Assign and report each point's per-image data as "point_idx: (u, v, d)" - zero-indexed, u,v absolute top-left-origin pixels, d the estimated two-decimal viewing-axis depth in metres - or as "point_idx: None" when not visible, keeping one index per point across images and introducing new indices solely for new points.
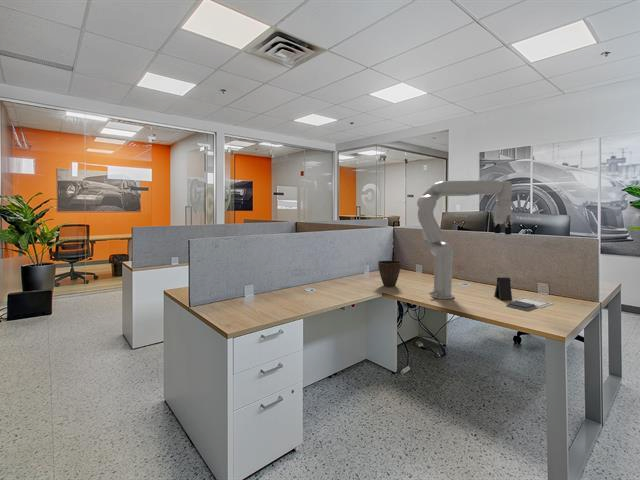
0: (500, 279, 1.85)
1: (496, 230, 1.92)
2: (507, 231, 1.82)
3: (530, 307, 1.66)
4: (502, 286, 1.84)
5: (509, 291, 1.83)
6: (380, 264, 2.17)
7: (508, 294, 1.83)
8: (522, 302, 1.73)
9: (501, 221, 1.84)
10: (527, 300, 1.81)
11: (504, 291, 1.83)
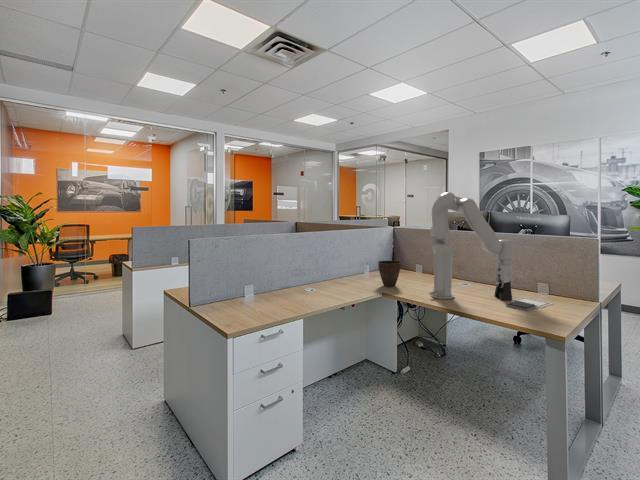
0: None
1: None
2: None
3: (530, 307, 1.66)
4: None
5: (509, 291, 1.83)
6: (380, 264, 2.17)
7: (508, 294, 1.83)
8: (522, 302, 1.73)
9: (511, 279, 1.85)
10: (527, 300, 1.81)
11: (504, 291, 1.83)
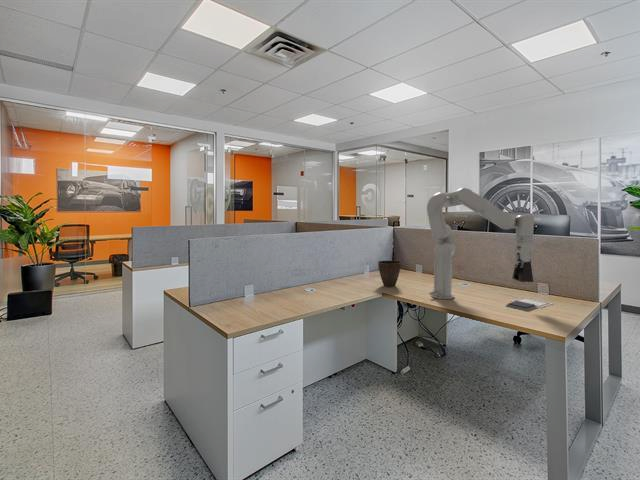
0: None
1: None
2: None
3: (530, 307, 1.66)
4: None
5: (530, 271, 1.66)
6: (380, 264, 2.17)
7: (529, 274, 1.65)
8: (522, 302, 1.73)
9: (532, 258, 1.67)
10: (527, 300, 1.81)
11: (524, 271, 1.66)
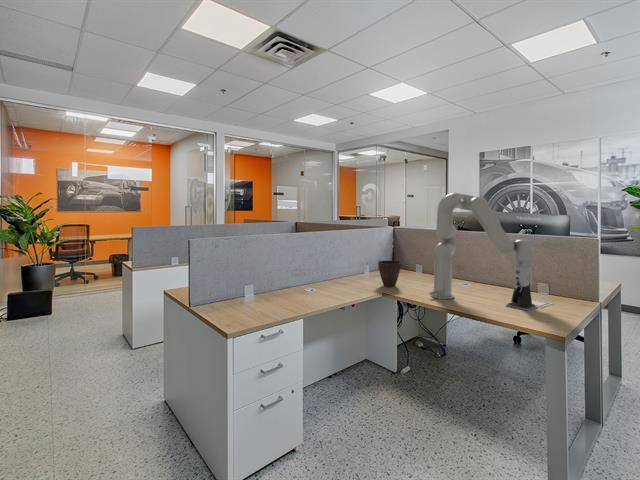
0: None
1: None
2: None
3: (530, 307, 1.66)
4: None
5: (529, 296, 1.67)
6: (380, 264, 2.17)
7: (528, 299, 1.66)
8: None
9: (531, 283, 1.69)
10: None
11: (523, 296, 1.67)
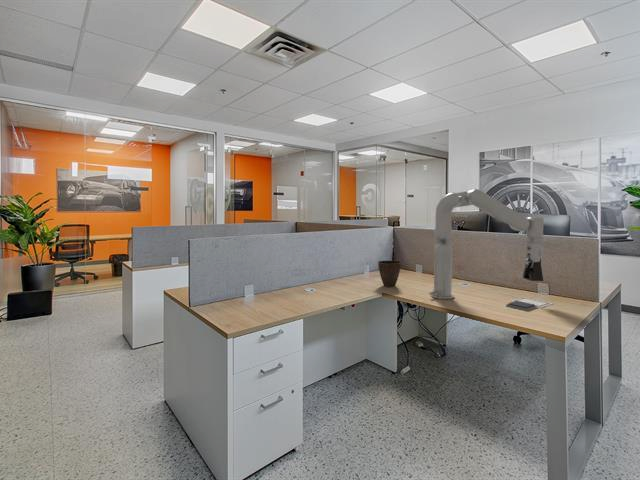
0: None
1: None
2: None
3: (530, 307, 1.66)
4: None
5: (540, 271, 1.73)
6: (380, 264, 2.17)
7: (539, 274, 1.73)
8: (522, 302, 1.73)
9: (541, 259, 1.75)
10: (527, 300, 1.81)
11: (534, 271, 1.73)
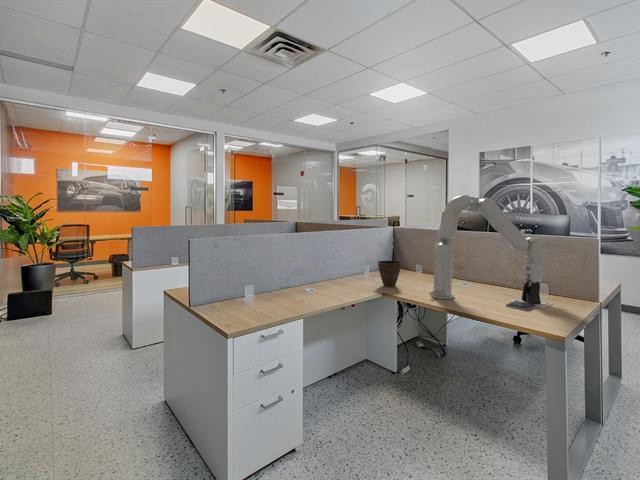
0: None
1: None
2: None
3: (530, 307, 1.66)
4: None
5: (537, 294, 1.74)
6: (380, 264, 2.17)
7: (536, 297, 1.74)
8: (522, 302, 1.73)
9: (540, 279, 1.76)
10: None
11: (532, 294, 1.75)
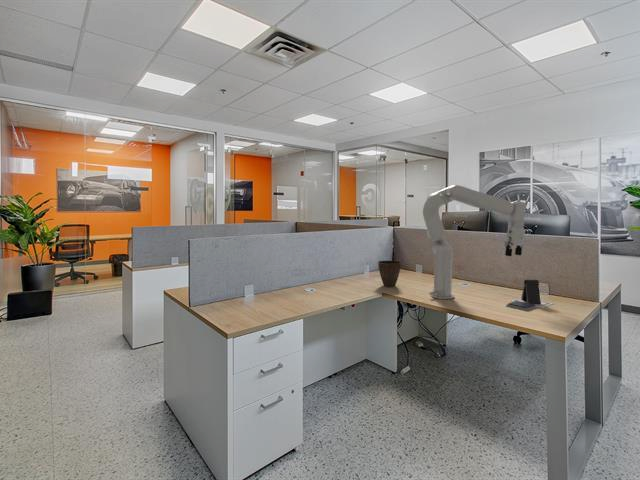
0: (527, 281, 1.76)
1: None
2: None
3: (530, 307, 1.66)
4: (530, 289, 1.75)
5: (537, 294, 1.74)
6: (380, 264, 2.17)
7: (536, 297, 1.74)
8: (522, 302, 1.73)
9: (522, 242, 1.81)
10: None
11: (532, 294, 1.75)
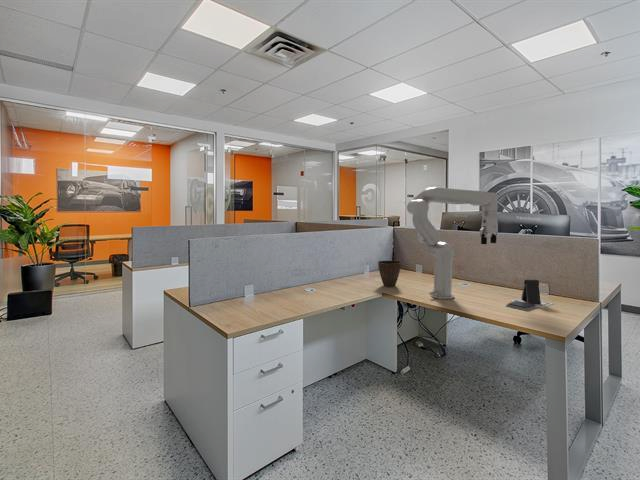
0: (528, 281, 1.76)
1: None
2: None
3: (530, 307, 1.66)
4: (530, 289, 1.75)
5: (537, 294, 1.74)
6: (380, 264, 2.17)
7: (536, 297, 1.74)
8: (522, 302, 1.73)
9: (496, 231, 1.92)
10: None
11: (532, 294, 1.75)
